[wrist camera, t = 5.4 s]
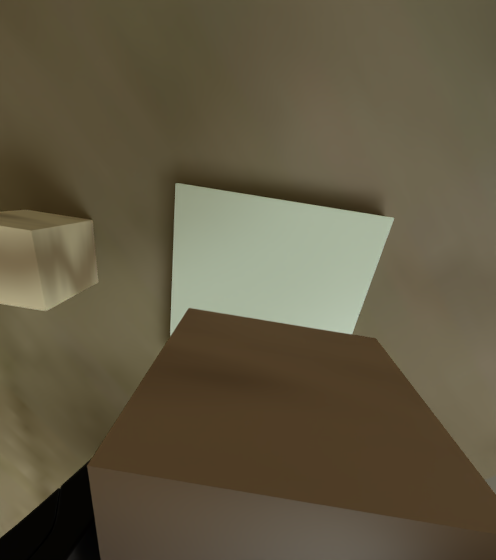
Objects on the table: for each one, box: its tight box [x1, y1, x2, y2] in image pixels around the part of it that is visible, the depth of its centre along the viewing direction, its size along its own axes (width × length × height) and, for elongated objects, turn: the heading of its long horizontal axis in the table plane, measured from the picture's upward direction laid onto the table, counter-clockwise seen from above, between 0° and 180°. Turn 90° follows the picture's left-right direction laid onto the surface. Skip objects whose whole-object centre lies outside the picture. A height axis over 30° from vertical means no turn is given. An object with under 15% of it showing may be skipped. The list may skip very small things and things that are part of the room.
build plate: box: [170, 183, 394, 336], centre depth 18 cm, size 14×14×1 cm
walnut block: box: [87, 308, 496, 560], centre depth 7 cm, size 6×6×5 cm
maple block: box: [0, 210, 98, 311], centre depth 16 cm, size 5×5×5 cm
